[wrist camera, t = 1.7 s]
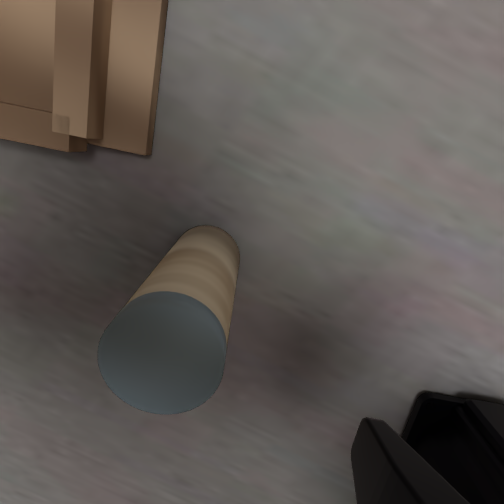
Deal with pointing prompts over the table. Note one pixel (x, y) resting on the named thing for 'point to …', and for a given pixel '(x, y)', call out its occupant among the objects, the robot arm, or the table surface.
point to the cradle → (81, 72)
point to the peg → (175, 327)
